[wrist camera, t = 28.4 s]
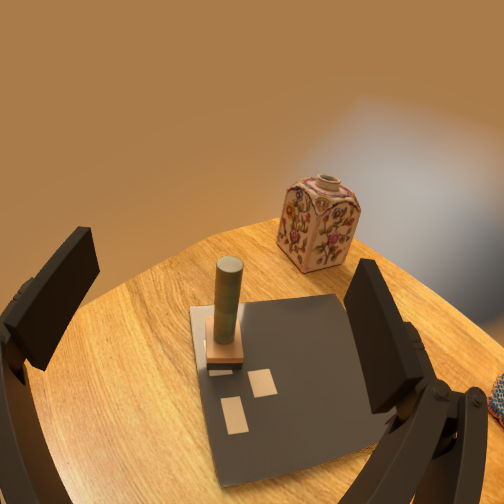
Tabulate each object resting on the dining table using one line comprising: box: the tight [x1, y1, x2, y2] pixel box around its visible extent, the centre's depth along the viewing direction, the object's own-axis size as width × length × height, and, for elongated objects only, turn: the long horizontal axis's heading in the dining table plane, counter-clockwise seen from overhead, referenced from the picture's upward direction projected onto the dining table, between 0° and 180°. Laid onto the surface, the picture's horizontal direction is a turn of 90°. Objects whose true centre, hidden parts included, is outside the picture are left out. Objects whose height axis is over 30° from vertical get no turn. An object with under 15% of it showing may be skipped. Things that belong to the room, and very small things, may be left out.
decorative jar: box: [277, 174, 361, 273], centre depth 57 cm, size 12×12×18 cm
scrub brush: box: [206, 256, 244, 370], centre depth 34 cm, size 7×5×15 cm, turn 7°
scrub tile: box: [189, 294, 397, 488], centre depth 37 cm, size 28×26×1 cm
